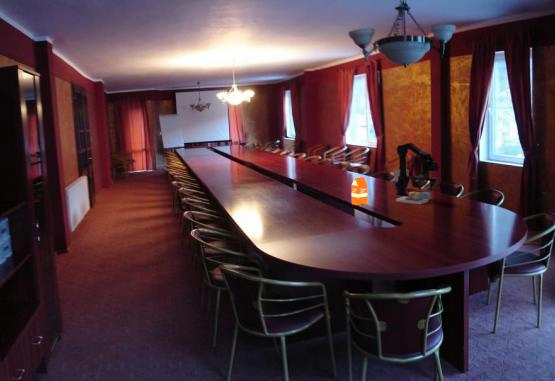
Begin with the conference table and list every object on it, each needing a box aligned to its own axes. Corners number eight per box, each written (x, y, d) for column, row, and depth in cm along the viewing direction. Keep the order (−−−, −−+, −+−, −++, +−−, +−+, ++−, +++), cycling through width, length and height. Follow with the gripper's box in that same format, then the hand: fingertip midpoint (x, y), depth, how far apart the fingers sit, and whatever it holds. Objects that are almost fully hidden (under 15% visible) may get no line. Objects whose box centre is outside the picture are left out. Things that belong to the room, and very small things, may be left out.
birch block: (408, 199, 356) (408, 192, 355) (412, 198, 360) (412, 191, 359) (416, 200, 352) (416, 193, 351) (420, 198, 356) (420, 192, 355)
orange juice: (351, 204, 358) (351, 177, 354) (360, 202, 362) (360, 176, 358) (358, 205, 351) (357, 178, 347) (367, 204, 355) (367, 177, 351)
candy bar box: (408, 188, 409) (409, 169, 406) (407, 189, 405) (407, 170, 402) (395, 188, 415) (395, 169, 412) (394, 189, 410) (394, 170, 407)
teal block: (419, 199, 364) (419, 193, 363) (423, 198, 368) (423, 192, 367) (426, 200, 360) (426, 194, 359) (430, 199, 364) (430, 192, 363)
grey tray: (395, 201, 360) (395, 197, 359) (403, 198, 368) (403, 195, 368) (420, 204, 346) (420, 200, 346) (428, 201, 355) (428, 197, 354)
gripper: (408, 170, 361) (408, 191, 363) (432, 172, 348) (431, 193, 351) (415, 168, 369) (415, 188, 371) (439, 170, 356) (438, 191, 359)
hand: (425, 190), depth 363 cm, fingers open, 9 cm apart
